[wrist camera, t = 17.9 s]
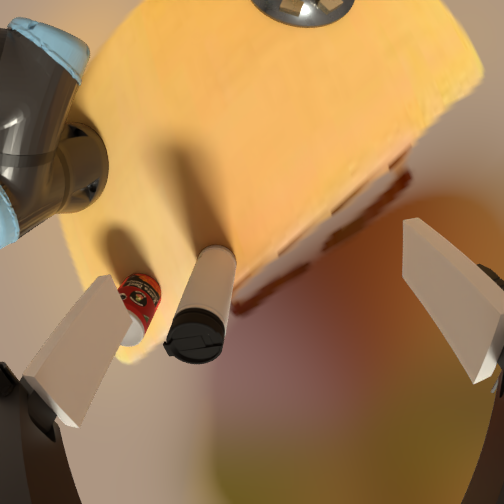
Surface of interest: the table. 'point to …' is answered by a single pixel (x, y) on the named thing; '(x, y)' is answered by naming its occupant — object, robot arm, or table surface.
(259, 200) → the table surface
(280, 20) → the ring holder
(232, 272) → the travel mug
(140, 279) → the canned food
